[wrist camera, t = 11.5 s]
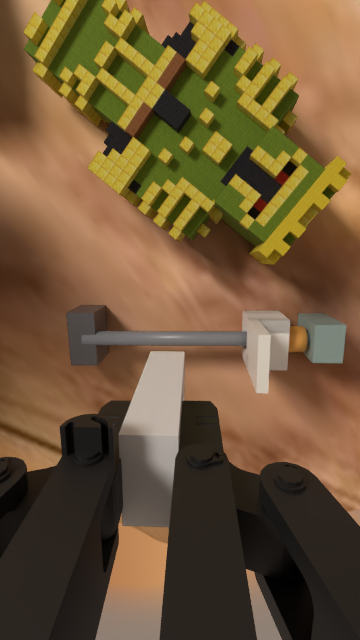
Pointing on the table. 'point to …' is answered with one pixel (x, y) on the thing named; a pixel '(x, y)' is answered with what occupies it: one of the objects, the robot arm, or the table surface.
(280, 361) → the cream l-shaped block
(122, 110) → the toy
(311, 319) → the rail
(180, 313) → the table surface
